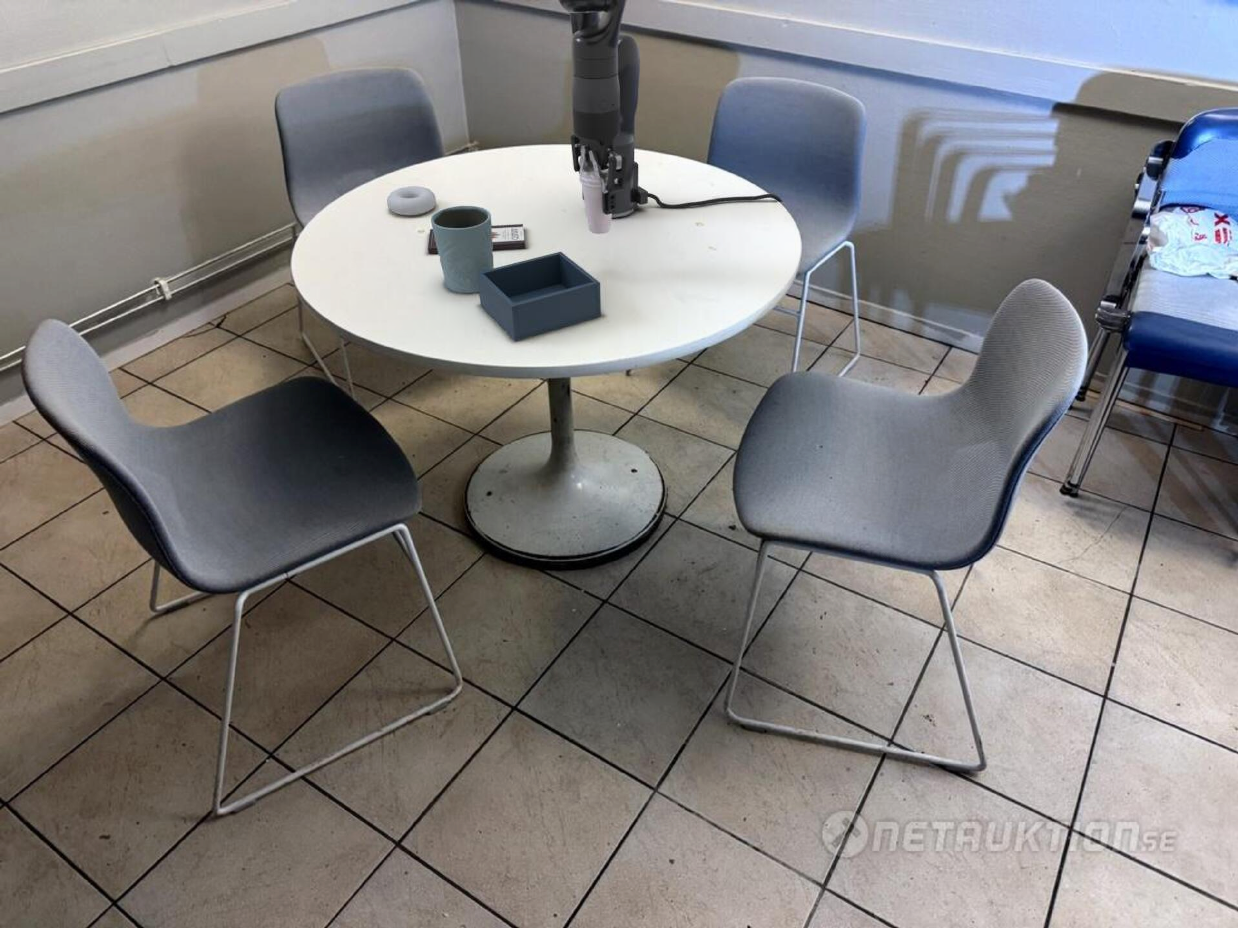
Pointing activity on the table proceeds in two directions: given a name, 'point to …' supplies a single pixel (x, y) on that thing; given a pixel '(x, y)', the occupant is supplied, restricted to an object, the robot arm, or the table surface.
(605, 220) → the smoothie
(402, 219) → the table surface
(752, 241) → the table surface
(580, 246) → the table surface
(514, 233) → the chocolate bar
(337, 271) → the table surface
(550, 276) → the basin
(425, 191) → the donut
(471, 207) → the blue-green cup
